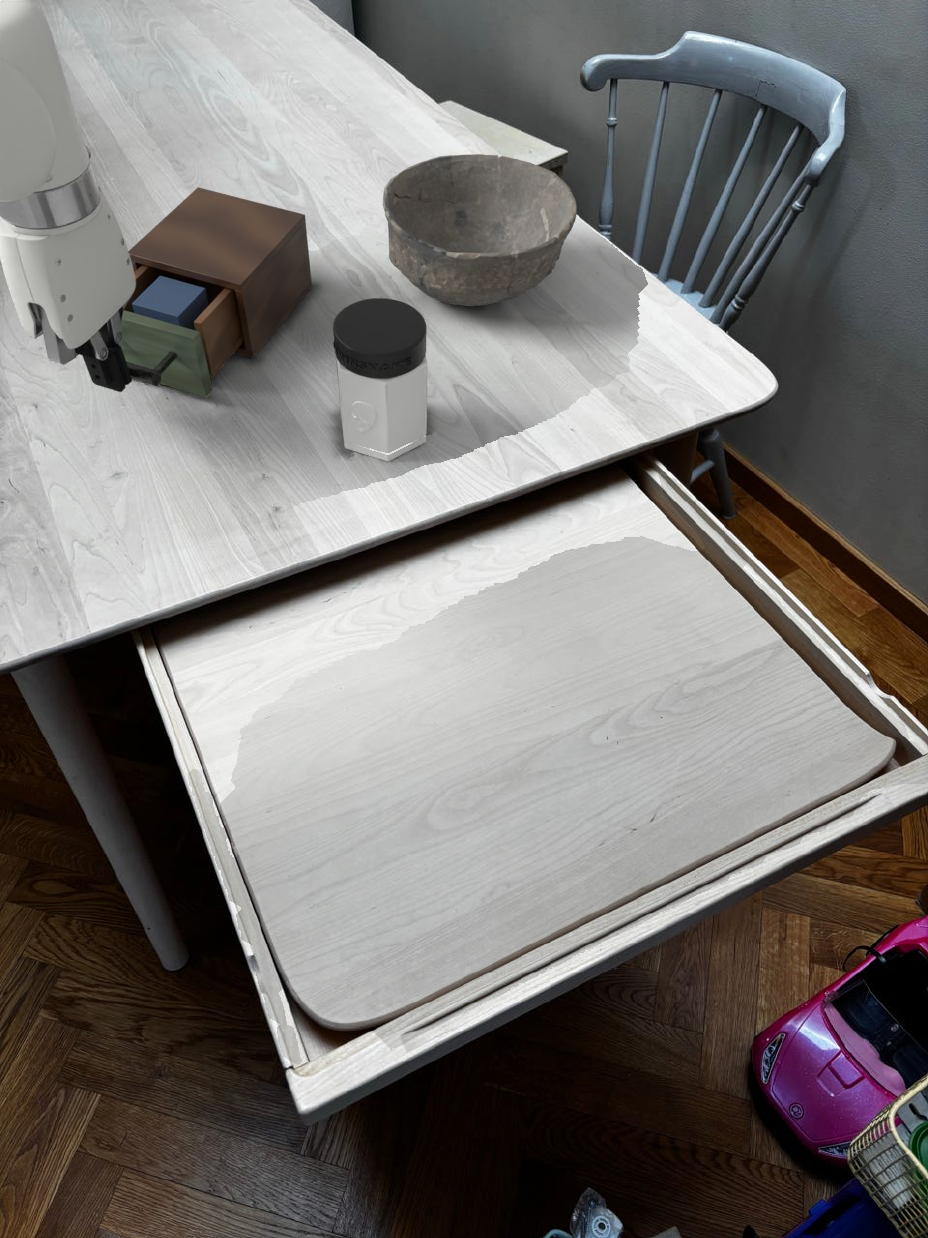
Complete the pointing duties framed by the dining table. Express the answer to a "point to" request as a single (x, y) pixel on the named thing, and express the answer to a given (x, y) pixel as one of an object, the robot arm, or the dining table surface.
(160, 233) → the cabinet
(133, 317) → the drawer
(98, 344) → the robot arm
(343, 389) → the jar
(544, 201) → the bowl
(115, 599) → the dining table surface
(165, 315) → the block
